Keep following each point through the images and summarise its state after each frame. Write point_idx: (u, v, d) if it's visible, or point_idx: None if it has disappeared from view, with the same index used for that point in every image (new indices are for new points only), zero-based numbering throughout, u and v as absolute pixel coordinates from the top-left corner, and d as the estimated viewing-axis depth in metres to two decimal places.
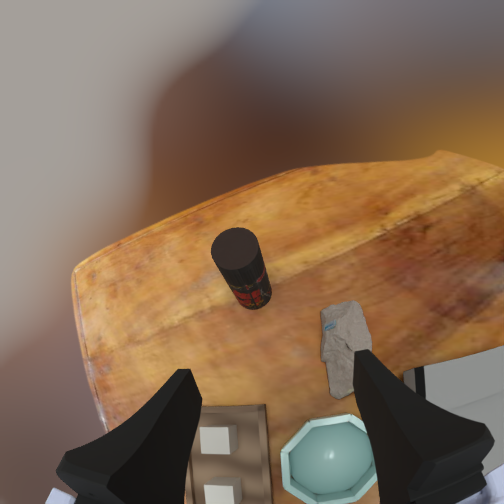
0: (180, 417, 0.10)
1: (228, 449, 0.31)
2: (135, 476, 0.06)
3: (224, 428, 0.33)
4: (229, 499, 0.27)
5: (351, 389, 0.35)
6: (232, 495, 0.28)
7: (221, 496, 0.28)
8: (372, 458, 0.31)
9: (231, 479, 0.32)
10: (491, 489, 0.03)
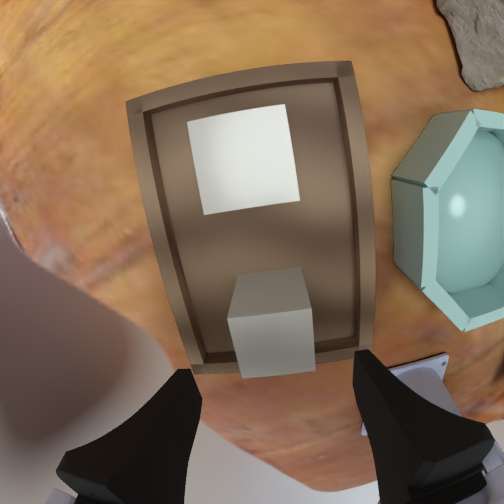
0: (180, 417, 0.10)
1: (293, 183, 0.11)
2: (135, 476, 0.06)
3: (272, 109, 0.10)
4: (302, 347, 0.14)
5: None
6: (310, 335, 0.14)
7: (280, 343, 0.14)
8: None
9: (285, 278, 0.17)
10: (491, 489, 0.03)
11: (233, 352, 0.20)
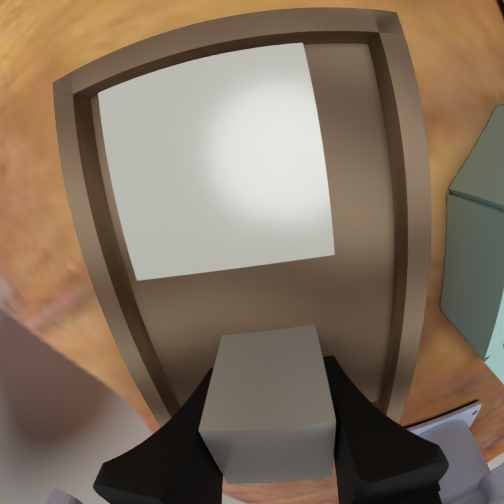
0: None
1: (323, 218, 0.05)
2: (183, 484, 0.06)
3: (276, 53, 0.04)
4: (316, 459, 0.08)
5: None
6: (330, 447, 0.07)
7: (283, 457, 0.08)
8: None
9: (292, 348, 0.11)
10: (491, 489, 0.03)
11: None
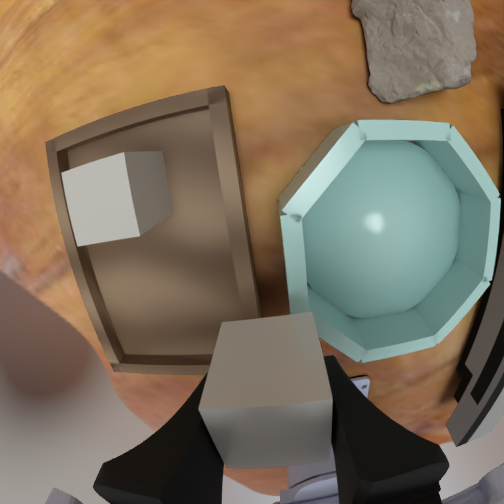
0: None
1: (133, 221, 0.13)
2: (183, 484, 0.06)
3: (115, 158, 0.12)
4: (313, 441, 0.08)
5: (427, 84, 0.12)
6: (327, 428, 0.08)
7: (281, 438, 0.08)
8: (461, 245, 0.17)
9: (290, 332, 0.11)
10: (491, 489, 0.03)
11: (144, 355, 0.22)
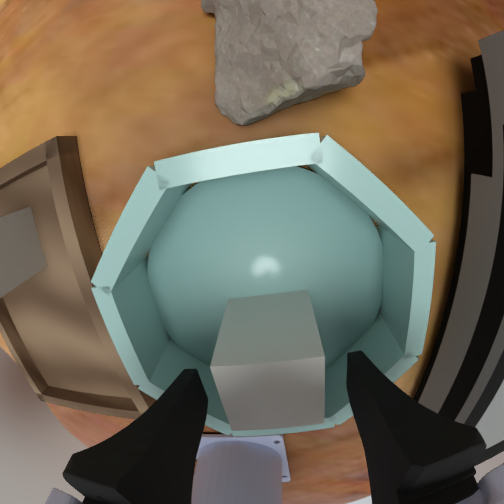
0: (187, 418, 0.10)
1: None
2: (144, 478, 0.06)
3: None
4: (309, 400, 0.10)
5: (280, 90, 0.09)
6: (321, 387, 0.10)
7: (281, 396, 0.10)
8: (384, 299, 0.14)
9: (288, 306, 0.13)
10: (491, 489, 0.03)
11: (61, 389, 0.19)
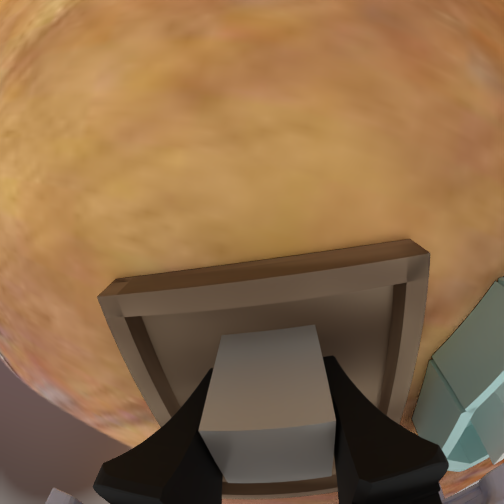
0: None
1: (327, 469, 0.08)
2: (183, 484, 0.06)
3: (318, 426, 0.07)
4: None
5: None
6: None
7: None
8: None
9: None
10: (491, 489, 0.03)
11: (248, 483, 0.17)
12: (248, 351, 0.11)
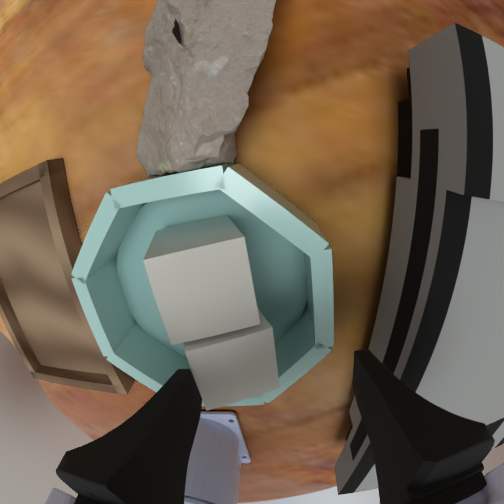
0: (180, 417, 0.10)
1: (254, 311, 0.12)
2: (135, 476, 0.06)
3: (232, 243, 0.11)
4: (265, 368, 0.13)
5: (163, 164, 0.13)
6: (272, 354, 0.13)
7: (243, 368, 0.13)
8: (307, 296, 0.17)
9: None
10: (491, 489, 0.03)
11: (51, 367, 0.22)
12: (177, 230, 0.14)
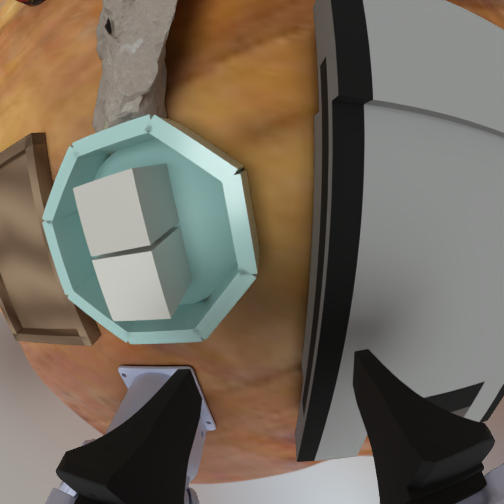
0: (180, 418, 0.10)
1: (144, 232, 0.14)
2: (135, 476, 0.06)
3: (124, 174, 0.13)
4: (152, 292, 0.15)
5: (105, 125, 0.15)
6: (156, 279, 0.15)
7: (133, 286, 0.15)
8: None
9: None
10: (491, 489, 0.03)
11: (31, 328, 0.24)
12: None
